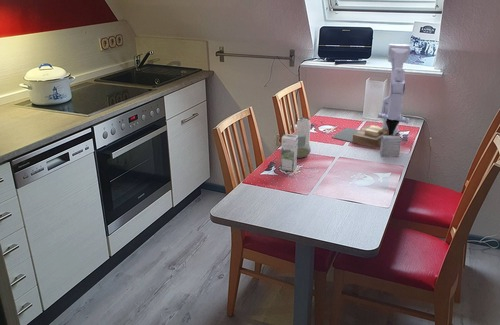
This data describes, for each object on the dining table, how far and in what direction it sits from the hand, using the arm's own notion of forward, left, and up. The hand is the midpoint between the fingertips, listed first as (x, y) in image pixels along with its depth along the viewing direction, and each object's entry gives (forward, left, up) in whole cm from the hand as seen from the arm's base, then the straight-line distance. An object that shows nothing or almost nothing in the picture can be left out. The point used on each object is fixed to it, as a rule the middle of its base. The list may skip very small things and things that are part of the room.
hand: (390, 134), depth 218 cm
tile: (0, -8, -1) cm, 8 cm away
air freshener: (+39, -28, -5) cm, 49 cm away
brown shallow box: (0, -9, -5) cm, 10 cm away
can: (+24, -34, -5) cm, 42 cm away
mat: (0, -21, -5) cm, 22 cm away
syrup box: (+54, -24, -5) cm, 59 cm away
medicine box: (+14, +5, -5) cm, 16 cm away
